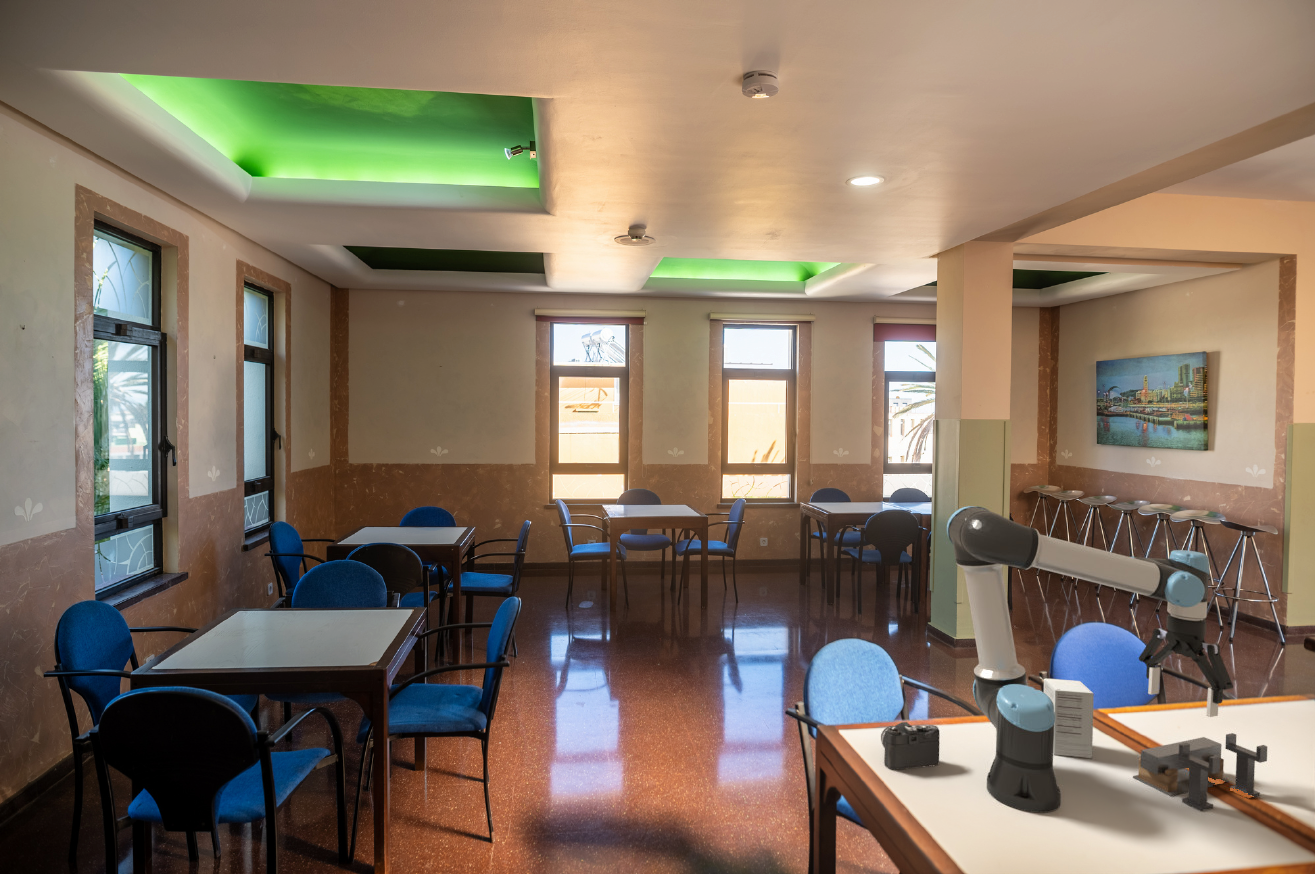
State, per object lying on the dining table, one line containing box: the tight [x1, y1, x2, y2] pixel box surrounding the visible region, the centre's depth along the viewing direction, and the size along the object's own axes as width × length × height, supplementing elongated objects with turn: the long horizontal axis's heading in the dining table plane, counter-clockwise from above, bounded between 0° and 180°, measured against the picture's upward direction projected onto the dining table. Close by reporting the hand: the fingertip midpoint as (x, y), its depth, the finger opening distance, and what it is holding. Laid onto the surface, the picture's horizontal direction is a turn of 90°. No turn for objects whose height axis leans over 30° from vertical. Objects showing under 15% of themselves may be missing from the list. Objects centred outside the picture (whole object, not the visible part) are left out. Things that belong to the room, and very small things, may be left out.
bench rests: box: [1132, 757, 1230, 797], centre depth 172 cm, size 20×9×5 cm, turn 110°
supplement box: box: [1043, 678, 1095, 759], centre depth 187 cm, size 10×9×17 cm
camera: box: [880, 721, 941, 771], centre depth 181 cm, size 14×11×10 cm
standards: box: [1179, 732, 1268, 812], centre depth 163 cm, size 20×7×12 cm, turn 110°
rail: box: [1140, 736, 1222, 775], centre depth 172 cm, size 22×4×4 cm, turn 110°
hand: (1181, 704), depth 171 cm, fingers open, 13 cm apart
